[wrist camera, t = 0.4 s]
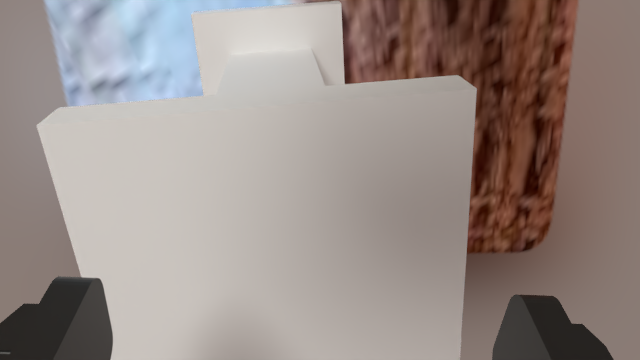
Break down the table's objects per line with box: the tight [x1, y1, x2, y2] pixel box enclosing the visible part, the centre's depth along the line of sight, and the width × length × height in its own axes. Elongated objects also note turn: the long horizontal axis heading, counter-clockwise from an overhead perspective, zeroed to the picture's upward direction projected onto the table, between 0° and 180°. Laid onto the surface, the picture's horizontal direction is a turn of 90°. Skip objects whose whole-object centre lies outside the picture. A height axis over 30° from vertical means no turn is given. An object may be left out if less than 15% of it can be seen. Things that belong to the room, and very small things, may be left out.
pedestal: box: [37, 1, 477, 360], centre depth 25 cm, size 10×11×22 cm
